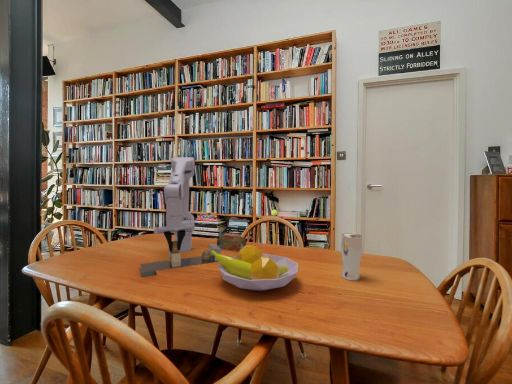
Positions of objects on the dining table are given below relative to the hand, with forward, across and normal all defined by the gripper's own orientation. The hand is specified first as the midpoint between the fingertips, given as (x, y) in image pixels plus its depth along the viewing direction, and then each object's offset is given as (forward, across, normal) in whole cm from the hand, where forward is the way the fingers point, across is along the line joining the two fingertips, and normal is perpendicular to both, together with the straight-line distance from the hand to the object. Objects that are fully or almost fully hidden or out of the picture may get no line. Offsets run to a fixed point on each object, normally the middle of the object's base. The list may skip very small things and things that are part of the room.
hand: (174, 250), depth 103 cm
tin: (+7, +27, +9) cm, 29 cm away
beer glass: (+7, +54, -37) cm, 66 cm away
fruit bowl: (+7, +22, -26) cm, 35 cm away
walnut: (+5, +12, 0) cm, 14 cm away
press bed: (+7, +3, 0) cm, 7 cm away
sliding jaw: (+5, 0, 0) cm, 5 cm away
